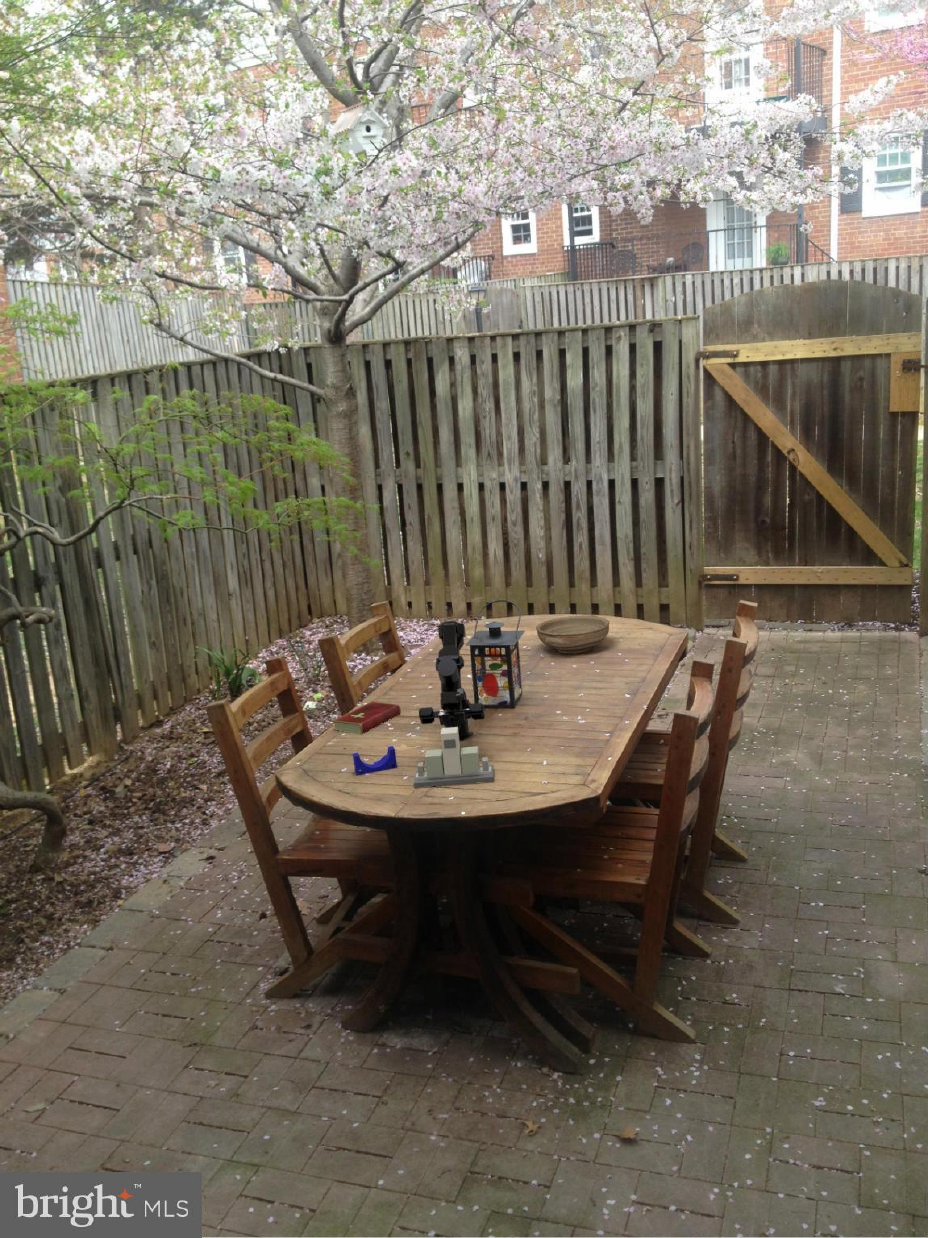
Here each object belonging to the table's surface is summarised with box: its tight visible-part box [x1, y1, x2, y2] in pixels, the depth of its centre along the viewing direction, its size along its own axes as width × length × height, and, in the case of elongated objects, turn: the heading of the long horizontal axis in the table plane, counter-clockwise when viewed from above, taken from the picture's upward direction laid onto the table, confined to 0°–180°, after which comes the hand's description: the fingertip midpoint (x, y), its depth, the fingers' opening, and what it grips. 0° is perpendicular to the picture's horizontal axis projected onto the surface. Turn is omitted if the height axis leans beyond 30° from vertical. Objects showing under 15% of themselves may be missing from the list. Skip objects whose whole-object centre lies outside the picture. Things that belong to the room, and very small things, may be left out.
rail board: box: [413, 745, 495, 789], centre depth 297 cm, size 9×22×8 cm, turn 88°
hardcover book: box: [332, 700, 402, 736], centre depth 354 cm, size 12×21×4 cm, turn 147°
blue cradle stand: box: [352, 745, 398, 776], centre depth 311 cm, size 12×4×6 cm, turn 106°
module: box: [440, 727, 462, 775], centre depth 295 cm, size 5×4×12 cm
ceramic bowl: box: [535, 614, 610, 654], centre depth 418 cm, size 37×29×10 cm
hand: (453, 740), depth 305 cm, fingers closed
